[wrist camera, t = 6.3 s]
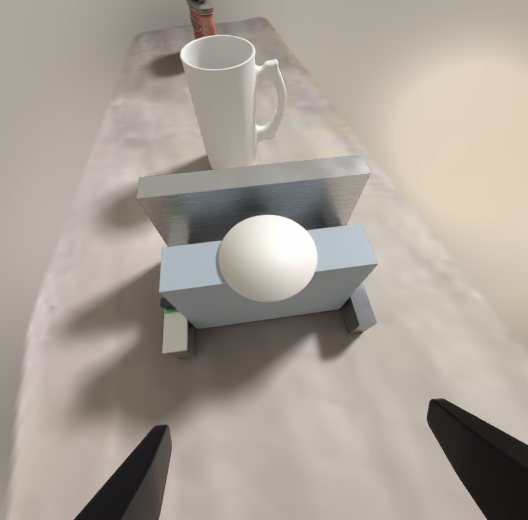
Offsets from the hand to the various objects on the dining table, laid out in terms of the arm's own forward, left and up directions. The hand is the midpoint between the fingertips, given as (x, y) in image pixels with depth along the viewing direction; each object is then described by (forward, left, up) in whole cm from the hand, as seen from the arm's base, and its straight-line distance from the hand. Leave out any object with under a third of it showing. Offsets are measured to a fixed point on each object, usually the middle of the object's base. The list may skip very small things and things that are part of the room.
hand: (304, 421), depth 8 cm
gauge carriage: (+8, +1, -12) cm, 15 cm away
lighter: (+59, +4, -13) cm, 60 cm away
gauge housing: (+11, 0, -13) cm, 17 cm away
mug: (+29, 0, -13) cm, 31 cm away
